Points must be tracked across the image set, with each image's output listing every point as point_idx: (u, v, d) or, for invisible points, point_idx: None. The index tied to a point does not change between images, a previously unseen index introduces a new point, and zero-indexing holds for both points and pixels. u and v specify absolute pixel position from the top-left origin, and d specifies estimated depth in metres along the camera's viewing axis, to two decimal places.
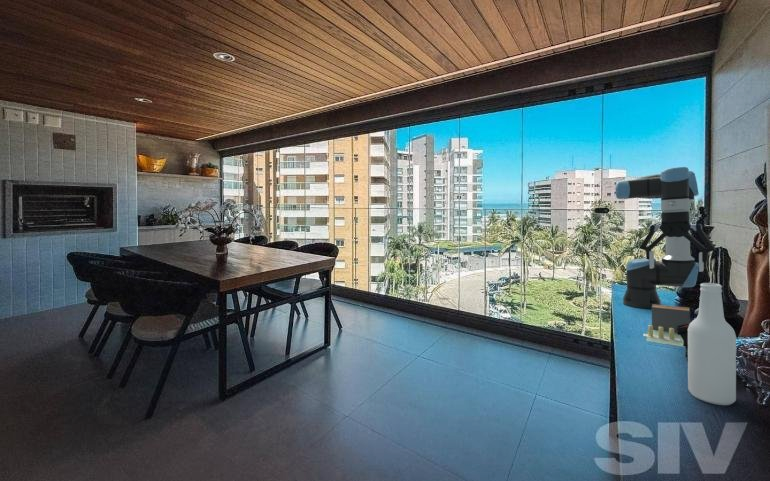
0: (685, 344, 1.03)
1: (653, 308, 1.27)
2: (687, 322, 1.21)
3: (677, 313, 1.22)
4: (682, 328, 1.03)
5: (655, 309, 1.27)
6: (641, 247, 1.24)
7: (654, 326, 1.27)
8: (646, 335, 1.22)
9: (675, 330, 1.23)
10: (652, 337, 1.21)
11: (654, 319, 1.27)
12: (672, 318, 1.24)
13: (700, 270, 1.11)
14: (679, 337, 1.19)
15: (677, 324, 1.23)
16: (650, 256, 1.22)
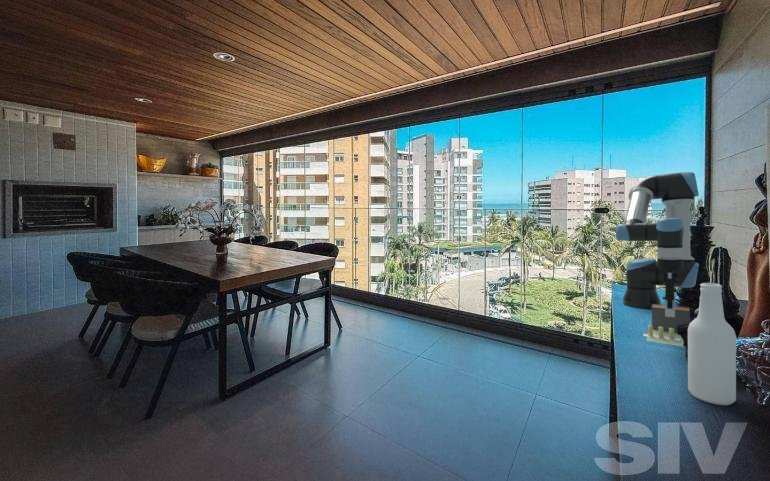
0: (685, 344, 1.03)
1: (653, 308, 1.27)
2: (687, 322, 1.21)
3: (677, 313, 1.22)
4: (682, 328, 1.03)
5: (655, 309, 1.27)
6: None
7: (654, 326, 1.27)
8: (646, 335, 1.22)
9: (675, 330, 1.23)
10: (652, 337, 1.21)
11: (654, 319, 1.27)
12: (672, 318, 1.24)
13: (665, 314, 1.21)
14: (679, 337, 1.19)
15: (677, 324, 1.23)
16: None
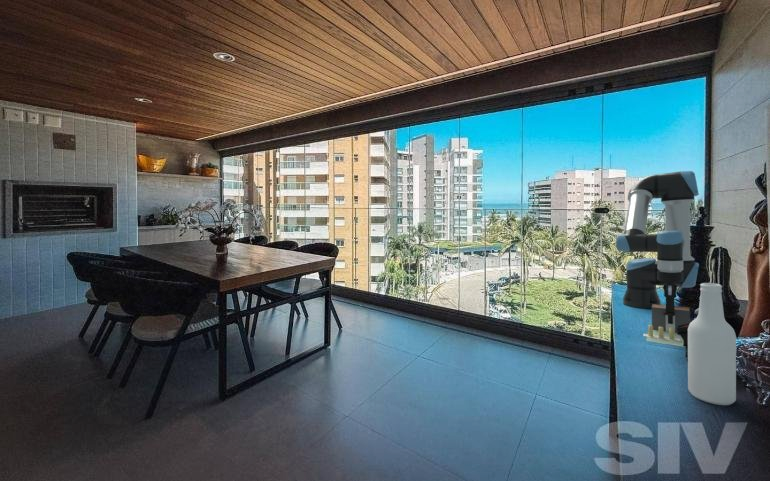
0: (685, 344, 1.03)
1: (653, 308, 1.27)
2: (687, 322, 1.21)
3: (677, 313, 1.22)
4: (682, 328, 1.03)
5: (655, 309, 1.27)
6: None
7: (654, 326, 1.27)
8: (646, 335, 1.22)
9: (675, 330, 1.23)
10: (652, 337, 1.21)
11: (654, 319, 1.27)
12: None
13: None
14: (679, 337, 1.19)
15: (677, 324, 1.23)
16: None
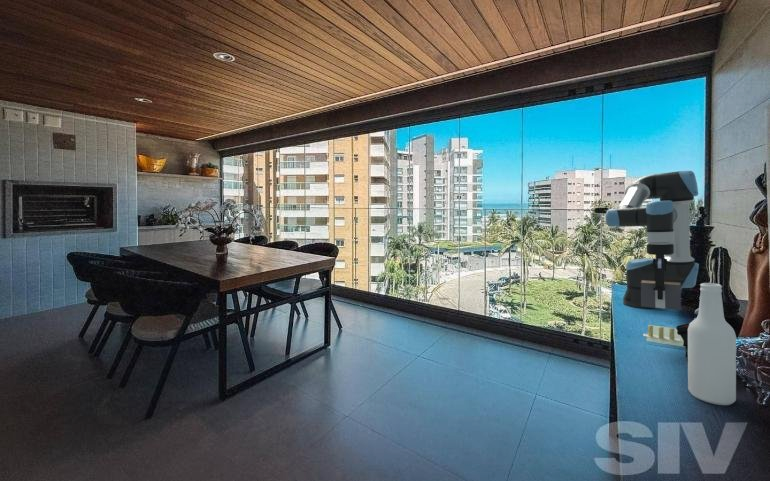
0: (685, 344, 1.03)
1: (642, 283, 1.20)
2: (678, 297, 1.13)
3: (667, 288, 1.15)
4: (682, 328, 1.03)
5: (644, 284, 1.19)
6: None
7: (643, 303, 1.20)
8: (646, 335, 1.22)
9: (665, 306, 1.16)
10: (652, 337, 1.21)
11: (643, 295, 1.20)
12: None
13: (655, 306, 1.17)
14: (679, 337, 1.19)
15: (667, 300, 1.15)
16: None
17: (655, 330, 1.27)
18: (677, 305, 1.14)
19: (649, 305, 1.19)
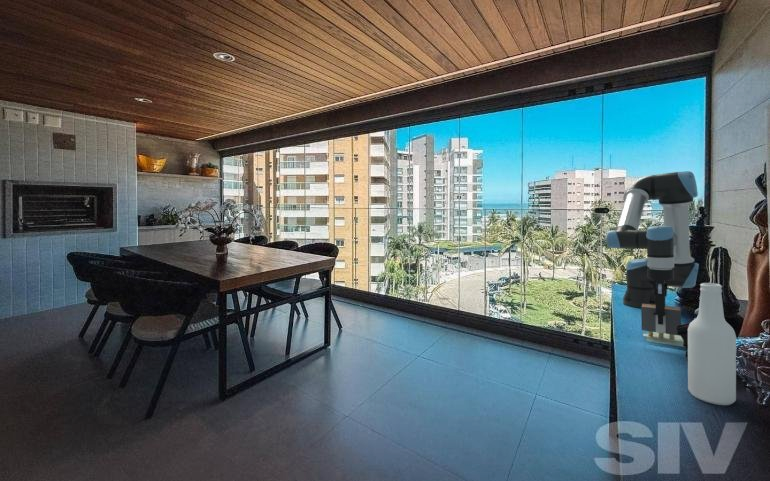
0: (685, 344, 1.03)
1: (643, 308, 1.20)
2: (678, 322, 1.14)
3: (668, 313, 1.16)
4: (682, 328, 1.03)
5: (645, 309, 1.20)
6: None
7: (644, 327, 1.21)
8: (646, 335, 1.22)
9: (666, 331, 1.17)
10: (652, 337, 1.21)
11: (644, 319, 1.21)
12: None
13: None
14: (679, 337, 1.19)
15: (668, 325, 1.16)
16: None
17: None
18: None
19: (649, 329, 1.20)
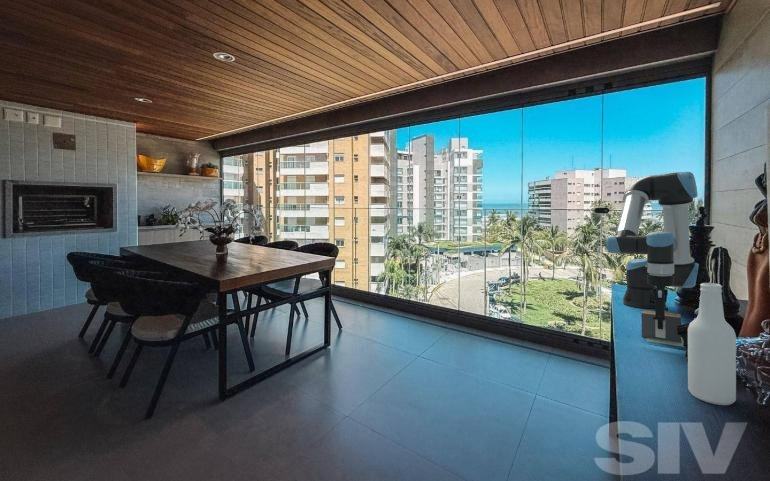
0: (685, 344, 1.03)
1: (643, 314, 1.21)
2: None
3: (668, 320, 1.16)
4: (682, 328, 1.03)
5: (645, 315, 1.20)
6: None
7: (644, 333, 1.21)
8: None
9: (666, 338, 1.17)
10: None
11: (644, 326, 1.21)
12: None
13: (655, 335, 1.16)
14: None
15: (668, 331, 1.16)
16: None
17: None
18: (677, 337, 1.15)
19: (650, 336, 1.20)
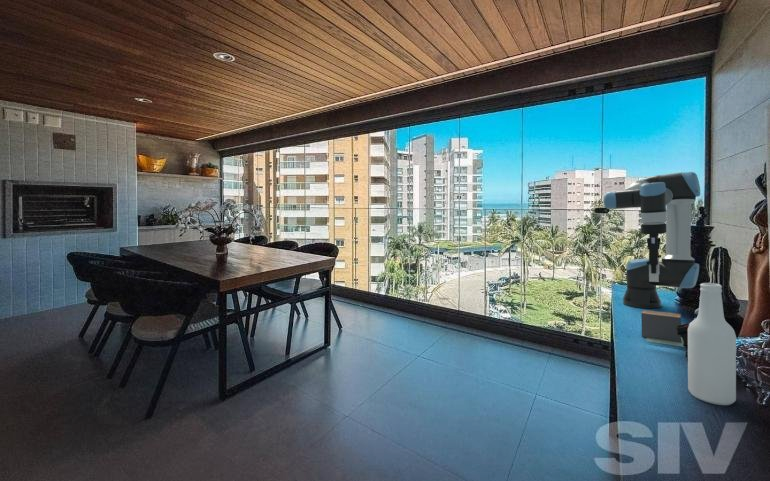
0: (685, 344, 1.03)
1: (643, 314, 1.21)
2: None
3: (668, 320, 1.16)
4: (682, 328, 1.03)
5: (645, 315, 1.20)
6: None
7: (644, 333, 1.21)
8: None
9: (666, 338, 1.17)
10: None
11: (644, 326, 1.21)
12: (662, 325, 1.17)
13: (649, 280, 1.21)
14: None
15: (668, 331, 1.16)
16: None
17: None
18: (677, 337, 1.15)
19: (650, 336, 1.20)
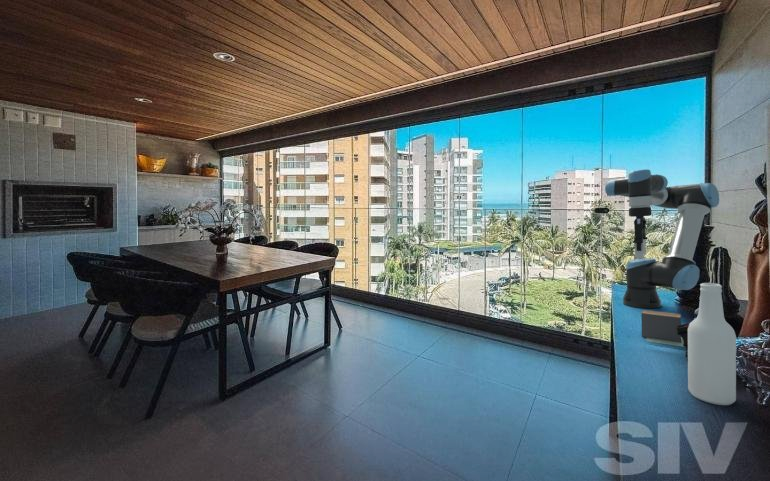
0: (685, 344, 1.03)
1: (643, 314, 1.21)
2: None
3: (668, 320, 1.16)
4: (682, 328, 1.03)
5: (645, 315, 1.20)
6: None
7: (644, 333, 1.21)
8: None
9: (666, 338, 1.17)
10: None
11: (644, 326, 1.21)
12: (662, 325, 1.17)
13: (635, 257, 1.34)
14: None
15: (668, 331, 1.16)
16: None
17: None
18: (677, 337, 1.15)
19: (650, 336, 1.20)
